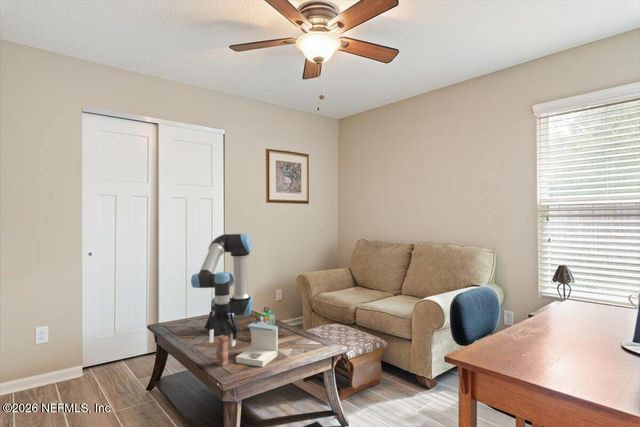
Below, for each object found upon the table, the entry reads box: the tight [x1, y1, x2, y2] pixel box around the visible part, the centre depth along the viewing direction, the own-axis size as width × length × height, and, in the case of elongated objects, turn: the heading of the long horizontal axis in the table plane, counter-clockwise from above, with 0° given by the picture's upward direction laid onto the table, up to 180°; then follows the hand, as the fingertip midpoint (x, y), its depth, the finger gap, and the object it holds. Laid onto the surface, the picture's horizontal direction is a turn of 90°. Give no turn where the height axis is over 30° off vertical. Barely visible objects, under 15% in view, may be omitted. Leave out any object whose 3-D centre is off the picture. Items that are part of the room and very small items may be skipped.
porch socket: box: [235, 322, 279, 368], centre depth 192 cm, size 16×16×16 cm
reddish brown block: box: [216, 335, 229, 367], centre depth 186 cm, size 4×4×14 cm
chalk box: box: [255, 306, 276, 326], centre depth 240 cm, size 9×9×15 cm
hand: (222, 344), depth 185 cm, fingers open, 13 cm apart
